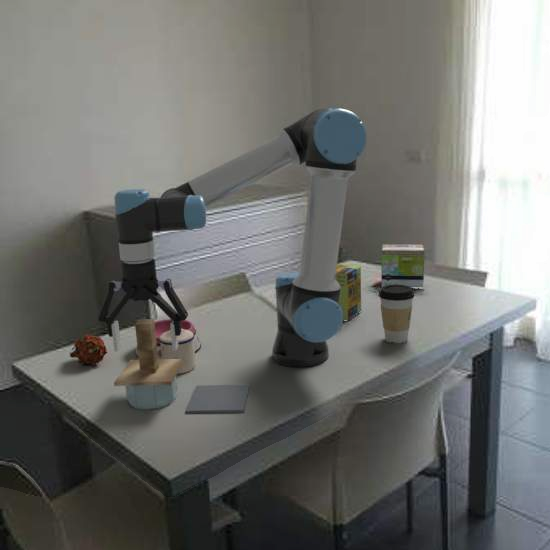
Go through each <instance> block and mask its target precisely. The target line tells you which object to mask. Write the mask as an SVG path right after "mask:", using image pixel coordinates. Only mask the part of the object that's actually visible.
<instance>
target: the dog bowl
mask: <svg viewBox="0 0 550 550" xmlns="http://www.w3.org/2000/svg"><path fill="white" fill-rule="evenodd" d="M171 322H172V320H171V319H170V318H168V319H167V318H165V319H160V320H154V324H155V333H156V343H157V347H161V344H160V341H159V338H160V336H161V335H162V334H163V333H165V332H168V331H169V330H171V326H170V324H171ZM194 325H195V324H193V322H191V321H189V320H187V319H186V320H182V321H181V329H184V330H189V331H191V332H192V333H193V334H194V350H195V354H196V353H197V354H198V352H199V351H200V350H201V348H202V344H201V343H202V342H200V338H199V335H198V334H197V330H196V328H195V326H194ZM135 355H136V357H137V358H139V356H138V347H137V346H136V349H135ZM158 359H162V354H161V350H160V351H158Z"/></svg>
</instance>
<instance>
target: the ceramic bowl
mask: <svg viewBox="0 0 550 550" xmlns="http://www.w3.org/2000/svg"><path fill="white" fill-rule="evenodd" d="M124 387H125V394H126V400H127V401H128V402H129V403H128V404H129V405H130V406H131V407H132V408H134V409H137V410H157V409H161V408H163V407H166V406H167V407H168V405H171V404H172V403H174V401H175V400H176V399H177V392H178V382H177V376H176V377H175V379H174V381H173V383H172V385H137V386H124Z"/></svg>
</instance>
